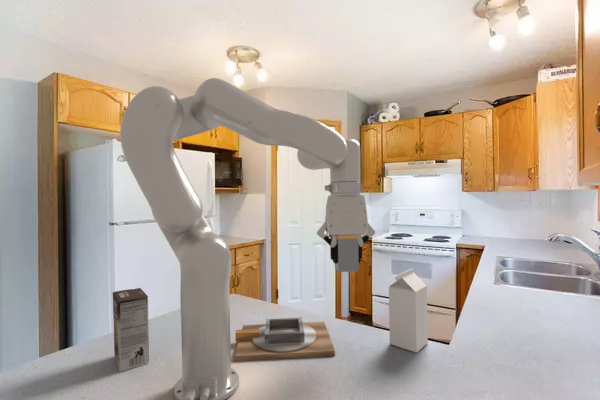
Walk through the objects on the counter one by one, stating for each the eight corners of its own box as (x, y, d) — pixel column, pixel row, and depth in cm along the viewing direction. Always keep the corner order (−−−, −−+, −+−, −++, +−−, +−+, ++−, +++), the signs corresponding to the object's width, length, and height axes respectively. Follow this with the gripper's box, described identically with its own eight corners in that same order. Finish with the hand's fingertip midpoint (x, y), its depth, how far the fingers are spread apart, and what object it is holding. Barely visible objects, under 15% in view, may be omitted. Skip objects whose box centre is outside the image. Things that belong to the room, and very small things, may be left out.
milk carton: (427, 343, 81) (426, 270, 81) (416, 353, 76) (415, 275, 76) (401, 335, 86) (400, 266, 86) (389, 344, 80) (388, 271, 80)
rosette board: (334, 355, 75) (334, 338, 75) (231, 361, 74) (230, 343, 74) (324, 325, 93) (324, 311, 93) (240, 329, 92) (240, 315, 92)
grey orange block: (358, 271, 76) (358, 234, 76) (338, 271, 76) (337, 234, 76) (353, 266, 81) (353, 232, 81) (334, 267, 81) (334, 232, 81)
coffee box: (113, 357, 77) (111, 291, 77) (142, 349, 81) (140, 286, 81) (118, 373, 70) (117, 300, 69) (150, 363, 73) (148, 295, 73)
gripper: (313, 189, 74) (314, 266, 74) (383, 189, 75) (384, 264, 75) (310, 190, 82) (311, 260, 82) (374, 190, 83) (375, 258, 83)
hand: (346, 261), depth 78 cm, fingers closed on grey orange block, 5 cm apart
